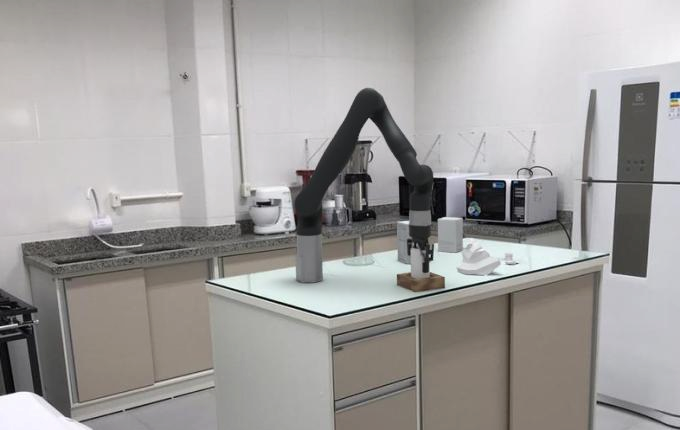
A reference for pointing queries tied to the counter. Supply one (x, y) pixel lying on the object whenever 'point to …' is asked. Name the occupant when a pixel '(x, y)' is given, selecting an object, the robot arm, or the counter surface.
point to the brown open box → (420, 282)
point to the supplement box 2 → (450, 234)
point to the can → (418, 264)
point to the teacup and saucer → (508, 258)
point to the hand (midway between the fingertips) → (420, 270)
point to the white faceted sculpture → (477, 260)
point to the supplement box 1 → (403, 241)
